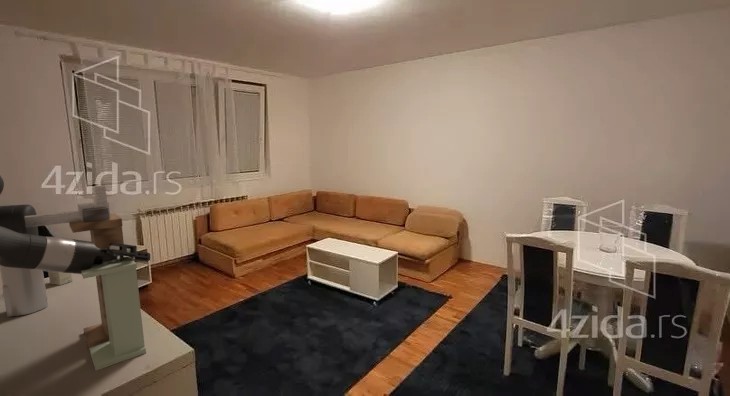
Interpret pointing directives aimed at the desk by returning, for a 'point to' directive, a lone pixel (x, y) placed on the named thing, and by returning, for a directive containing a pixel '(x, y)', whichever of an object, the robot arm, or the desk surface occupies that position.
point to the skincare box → (59, 278)
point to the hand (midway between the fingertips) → (140, 263)
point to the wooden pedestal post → (101, 236)
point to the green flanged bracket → (119, 313)
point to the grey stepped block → (69, 216)
